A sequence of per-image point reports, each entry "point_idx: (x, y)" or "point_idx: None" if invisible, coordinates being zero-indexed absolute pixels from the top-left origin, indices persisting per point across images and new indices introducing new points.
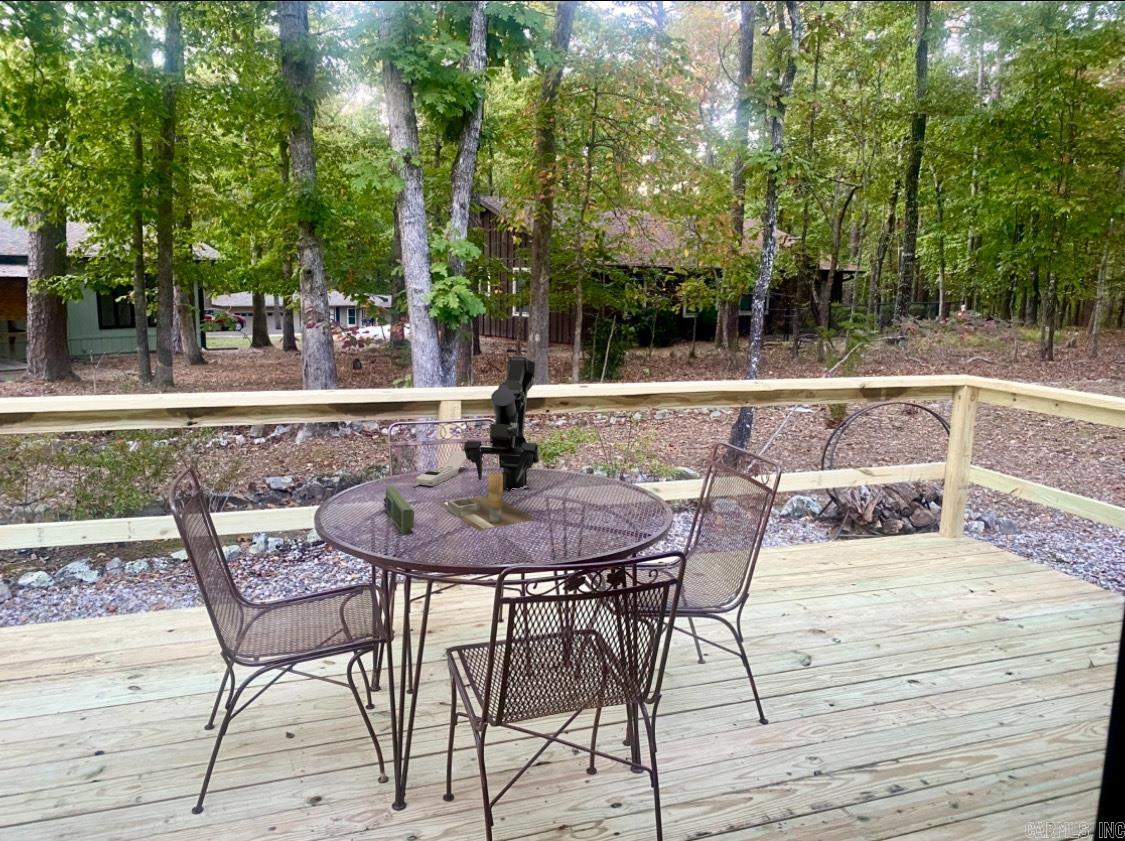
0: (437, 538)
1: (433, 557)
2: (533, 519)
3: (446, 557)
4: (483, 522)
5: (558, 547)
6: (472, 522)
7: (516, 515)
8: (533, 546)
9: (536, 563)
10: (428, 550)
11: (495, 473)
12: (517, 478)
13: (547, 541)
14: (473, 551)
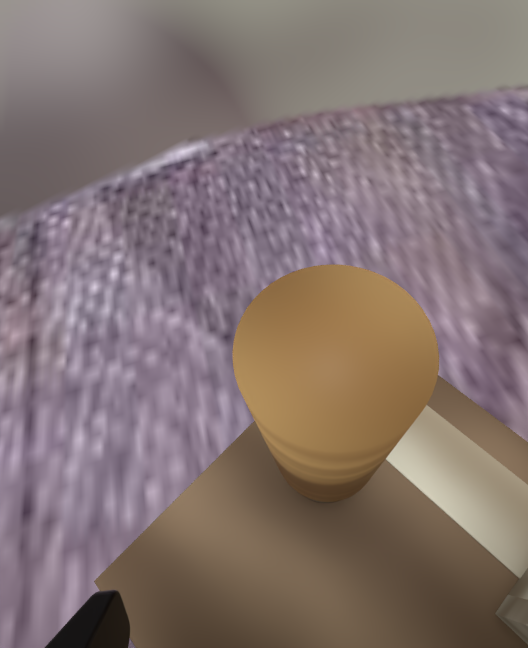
0: (518, 263)
1: (422, 131)
2: (105, 572)
3: (382, 142)
4: None
5: (11, 317)
6: (444, 415)
7: (224, 631)
8: (106, 299)
9: (91, 185)
10: (474, 165)
11: (362, 413)
12: (78, 612)
13: (50, 363)
14: (315, 202)
